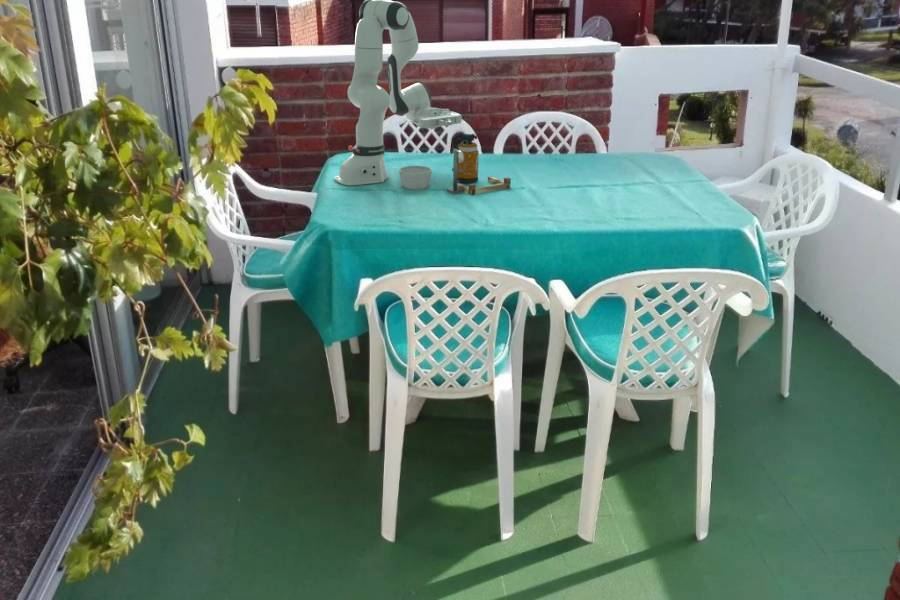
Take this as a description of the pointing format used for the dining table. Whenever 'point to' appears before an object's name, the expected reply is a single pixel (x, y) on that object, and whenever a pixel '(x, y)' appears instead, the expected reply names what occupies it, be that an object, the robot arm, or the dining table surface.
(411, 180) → the ramekin
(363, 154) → the robot arm
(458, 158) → the mirror on stand
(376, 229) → the dining table surface
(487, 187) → the cradle
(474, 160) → the canister
